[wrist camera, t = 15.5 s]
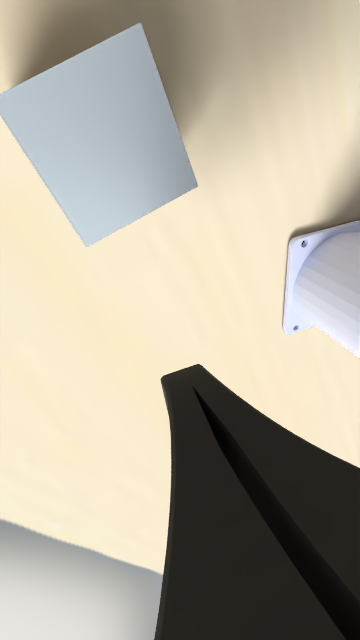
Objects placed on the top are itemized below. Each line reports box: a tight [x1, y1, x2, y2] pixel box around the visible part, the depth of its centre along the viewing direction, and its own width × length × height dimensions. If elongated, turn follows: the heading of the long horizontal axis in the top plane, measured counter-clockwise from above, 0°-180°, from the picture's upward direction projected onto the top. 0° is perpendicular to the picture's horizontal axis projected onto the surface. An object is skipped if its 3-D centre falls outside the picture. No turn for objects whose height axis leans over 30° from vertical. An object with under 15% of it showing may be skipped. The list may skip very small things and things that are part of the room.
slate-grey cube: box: [0, 22, 198, 247], centre depth 12 cm, size 5×5×5 cm
